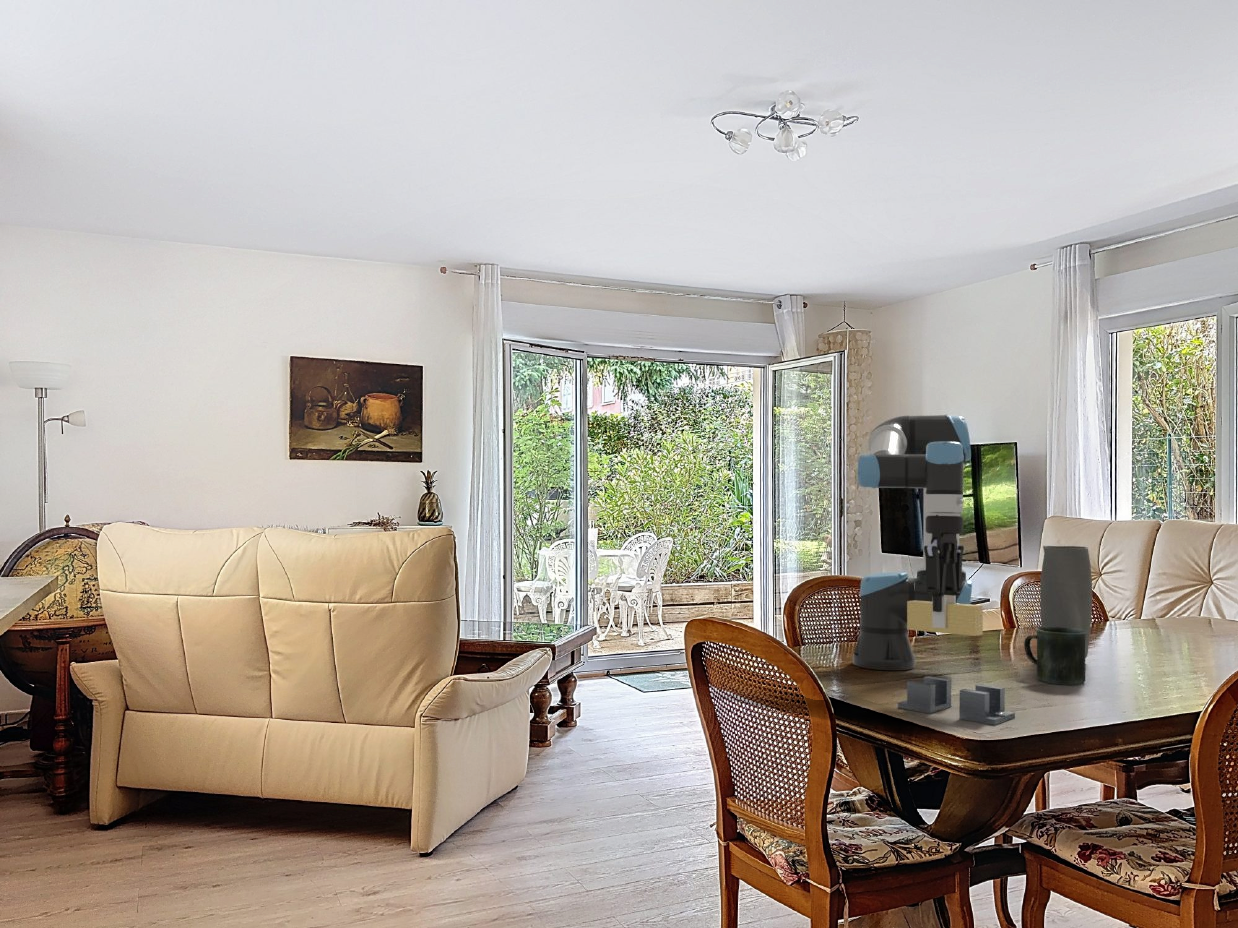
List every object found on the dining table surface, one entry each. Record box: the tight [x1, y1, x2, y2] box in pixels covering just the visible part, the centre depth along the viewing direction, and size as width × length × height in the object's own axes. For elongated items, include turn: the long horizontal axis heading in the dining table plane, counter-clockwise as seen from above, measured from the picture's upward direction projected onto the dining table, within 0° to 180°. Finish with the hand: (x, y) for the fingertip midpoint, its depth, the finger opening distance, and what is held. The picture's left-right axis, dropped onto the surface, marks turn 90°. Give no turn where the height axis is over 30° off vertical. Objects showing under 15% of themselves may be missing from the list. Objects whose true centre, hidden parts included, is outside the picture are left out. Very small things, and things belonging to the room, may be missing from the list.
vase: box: [1039, 545, 1093, 659], centre depth 254 cm, size 12×12×30 cm
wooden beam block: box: [907, 599, 984, 637], centre depth 205 cm, size 15×4×6 cm, turn 45°
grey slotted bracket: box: [897, 675, 952, 715], centre depth 198 cm, size 7×9×6 cm
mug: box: [1023, 626, 1087, 686], centre depth 229 cm, size 11×15×12 cm
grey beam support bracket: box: [958, 683, 1016, 726], centre depth 189 cm, size 7×9×6 cm
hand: (944, 626), depth 205 cm, fingers closed on wooden beam block, 3 cm apart
